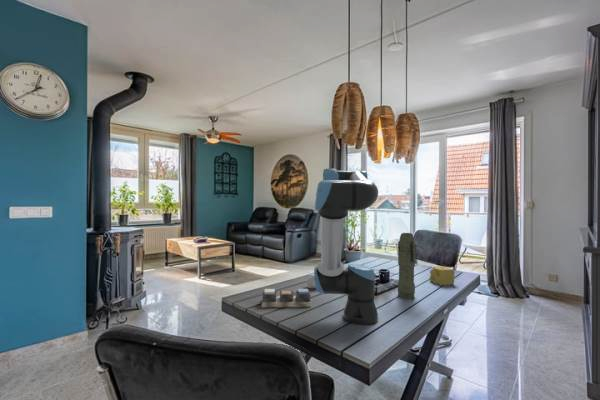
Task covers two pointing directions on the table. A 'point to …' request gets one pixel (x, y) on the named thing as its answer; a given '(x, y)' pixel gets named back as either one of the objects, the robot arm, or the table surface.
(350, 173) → the robot arm
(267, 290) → the button cream
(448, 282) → the cheese
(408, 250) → the thermos
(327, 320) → the table surface
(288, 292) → the button terracotta
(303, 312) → the table surface
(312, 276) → the grey rounded lump
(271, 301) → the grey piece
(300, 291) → the button slate
